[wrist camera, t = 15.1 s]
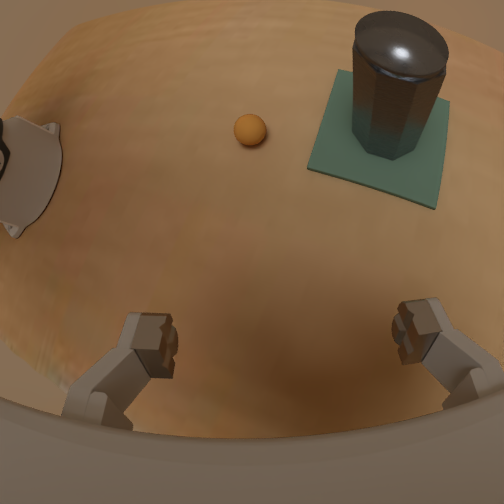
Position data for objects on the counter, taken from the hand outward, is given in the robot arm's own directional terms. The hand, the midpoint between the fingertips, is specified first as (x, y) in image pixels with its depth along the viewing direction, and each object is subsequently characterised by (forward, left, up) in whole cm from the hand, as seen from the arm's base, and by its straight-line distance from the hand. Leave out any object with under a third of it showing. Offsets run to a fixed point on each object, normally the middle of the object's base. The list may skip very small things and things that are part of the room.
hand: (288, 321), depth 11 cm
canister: (+1, +17, -15) cm, 23 cm away
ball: (-11, +13, -15) cm, 23 cm away
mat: (+1, +17, -15) cm, 23 cm away
